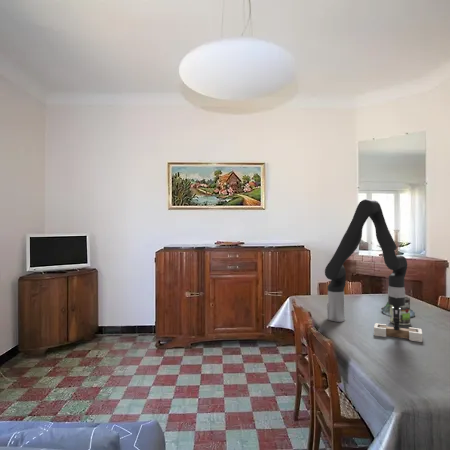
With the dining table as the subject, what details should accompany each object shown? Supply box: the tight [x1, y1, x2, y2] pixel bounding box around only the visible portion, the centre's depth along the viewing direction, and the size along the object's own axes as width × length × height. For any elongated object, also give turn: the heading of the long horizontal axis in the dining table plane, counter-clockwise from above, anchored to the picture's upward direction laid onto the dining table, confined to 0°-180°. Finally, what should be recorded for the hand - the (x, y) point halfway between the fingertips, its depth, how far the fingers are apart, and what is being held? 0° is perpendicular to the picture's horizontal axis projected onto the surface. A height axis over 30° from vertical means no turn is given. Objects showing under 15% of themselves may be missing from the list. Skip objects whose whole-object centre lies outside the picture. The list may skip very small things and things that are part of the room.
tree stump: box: [381, 301, 416, 319], centre depth 199 cm, size 18×20×18 cm
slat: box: [380, 326, 416, 340], centre depth 159 cm, size 16×4×4 cm, turn 61°
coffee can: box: [389, 296, 411, 326], centre depth 180 cm, size 10×10×14 cm
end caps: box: [373, 322, 423, 343], centre depth 159 cm, size 21×8×4 cm, turn 61°
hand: (396, 327), depth 159 cm, fingers open, 8 cm apart
